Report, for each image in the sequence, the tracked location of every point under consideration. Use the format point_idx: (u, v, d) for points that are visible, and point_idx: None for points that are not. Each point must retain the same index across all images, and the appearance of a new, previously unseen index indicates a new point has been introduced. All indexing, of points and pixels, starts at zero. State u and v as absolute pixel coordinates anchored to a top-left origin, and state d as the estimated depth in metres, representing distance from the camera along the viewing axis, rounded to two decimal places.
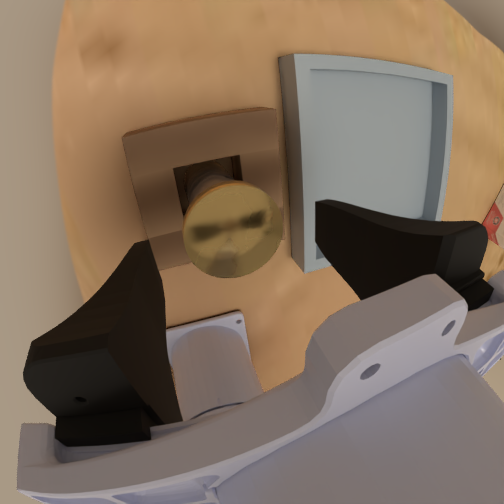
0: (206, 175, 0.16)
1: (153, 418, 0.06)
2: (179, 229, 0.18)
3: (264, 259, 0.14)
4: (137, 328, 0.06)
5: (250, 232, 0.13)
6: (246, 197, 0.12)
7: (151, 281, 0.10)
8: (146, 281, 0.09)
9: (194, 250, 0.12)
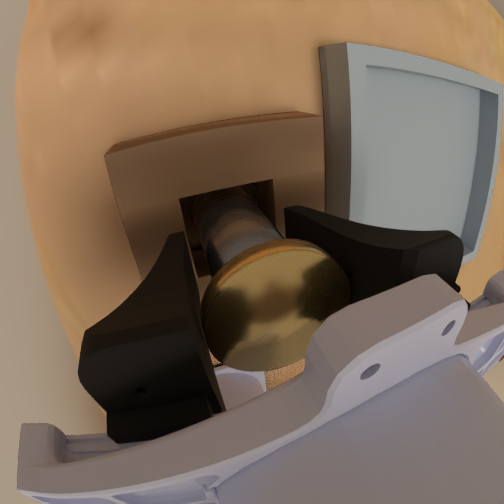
0: (228, 211, 0.11)
1: (211, 405, 0.06)
2: None
3: None
4: (194, 314, 0.07)
5: (306, 316, 0.08)
6: (306, 270, 0.07)
7: (190, 271, 0.10)
8: (188, 270, 0.09)
9: (221, 346, 0.08)
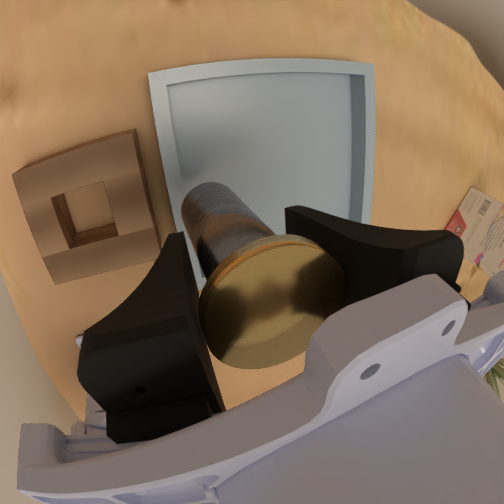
0: (220, 210, 0.11)
1: (211, 406, 0.06)
2: (64, 249, 0.18)
3: None
4: (193, 315, 0.07)
5: (302, 310, 0.08)
6: (303, 264, 0.07)
7: (190, 271, 0.10)
8: (188, 271, 0.09)
9: (221, 344, 0.08)
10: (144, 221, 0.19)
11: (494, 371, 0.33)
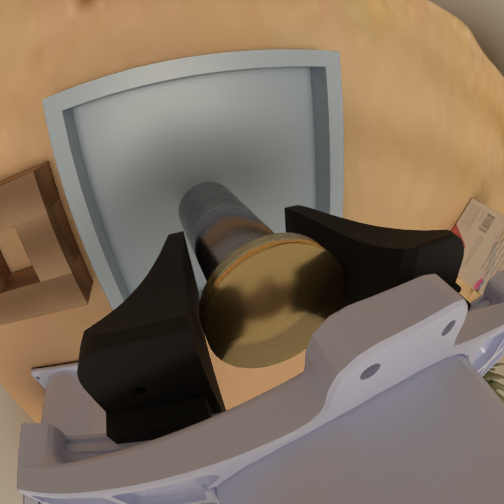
0: (218, 209, 0.11)
1: (210, 406, 0.06)
2: None
3: None
4: (193, 315, 0.07)
5: (303, 308, 0.08)
6: (303, 262, 0.07)
7: (190, 271, 0.10)
8: (188, 271, 0.09)
9: (222, 343, 0.08)
10: (61, 267, 0.15)
11: None
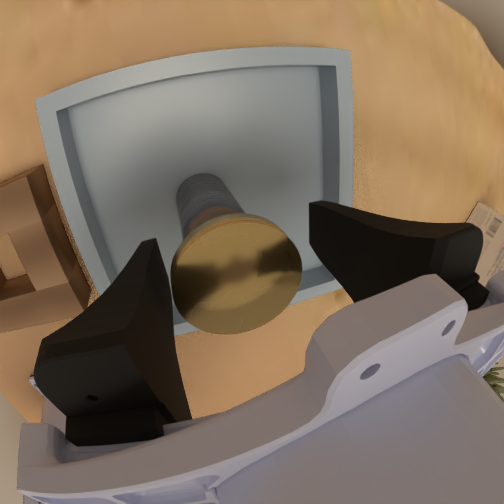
0: (203, 196, 0.13)
1: (165, 415, 0.06)
2: None
3: (276, 311, 0.11)
4: (149, 325, 0.07)
5: (260, 281, 0.10)
6: (255, 238, 0.09)
7: (159, 279, 0.10)
8: (155, 279, 0.09)
9: (187, 305, 0.09)
10: (58, 276, 0.14)
11: None
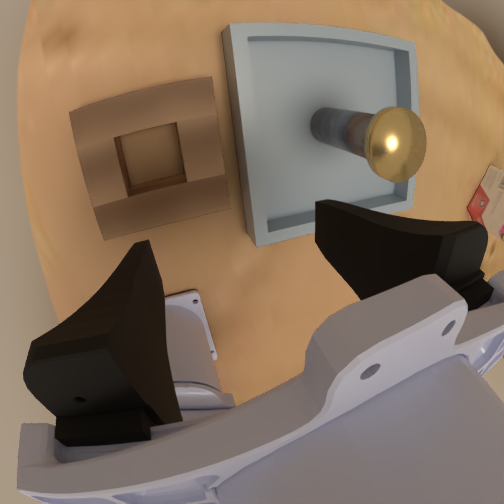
0: (351, 111, 0.17)
1: (153, 418, 0.06)
2: (121, 197, 0.17)
3: (414, 171, 0.15)
4: (137, 328, 0.06)
5: (410, 146, 0.14)
6: (411, 118, 0.13)
7: (151, 281, 0.10)
8: (146, 281, 0.09)
9: (378, 152, 0.14)
10: (216, 167, 0.18)
11: None
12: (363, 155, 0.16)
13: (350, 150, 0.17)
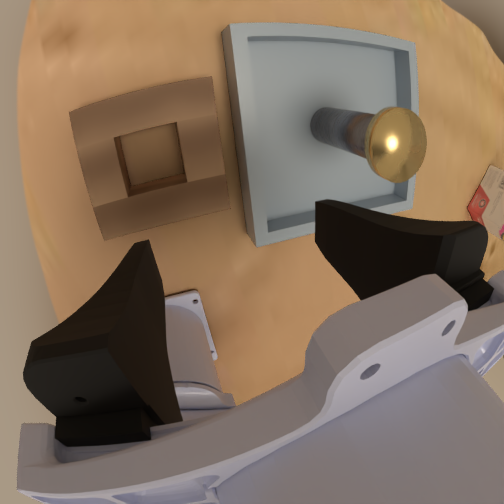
0: (351, 111, 0.17)
1: (153, 418, 0.06)
2: (121, 197, 0.17)
3: (414, 171, 0.15)
4: (137, 328, 0.06)
5: (410, 146, 0.14)
6: (411, 118, 0.13)
7: (151, 281, 0.10)
8: (146, 281, 0.09)
9: (378, 152, 0.14)
10: (216, 167, 0.18)
11: None
12: (363, 155, 0.16)
13: (350, 150, 0.17)
